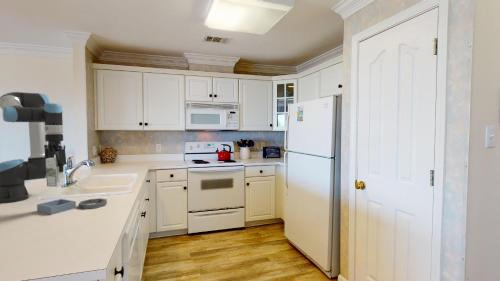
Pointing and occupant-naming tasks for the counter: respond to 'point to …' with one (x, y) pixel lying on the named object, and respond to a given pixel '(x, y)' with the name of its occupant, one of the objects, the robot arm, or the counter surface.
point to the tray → (56, 206)
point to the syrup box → (53, 173)
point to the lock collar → (99, 201)
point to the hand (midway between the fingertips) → (55, 177)
